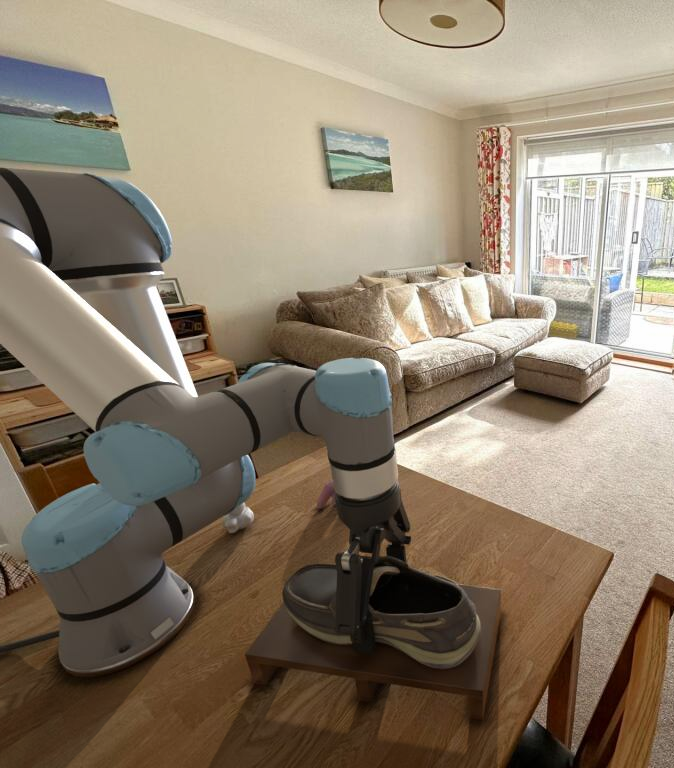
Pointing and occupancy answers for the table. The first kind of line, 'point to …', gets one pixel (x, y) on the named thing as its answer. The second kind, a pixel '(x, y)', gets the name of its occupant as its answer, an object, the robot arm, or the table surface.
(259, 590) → the table surface
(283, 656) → the small wooden pallet
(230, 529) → the white lobed figurine
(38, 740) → the table surface
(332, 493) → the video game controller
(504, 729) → the table surface
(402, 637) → the boat shoe
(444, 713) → the table surface
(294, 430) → the robot arm
